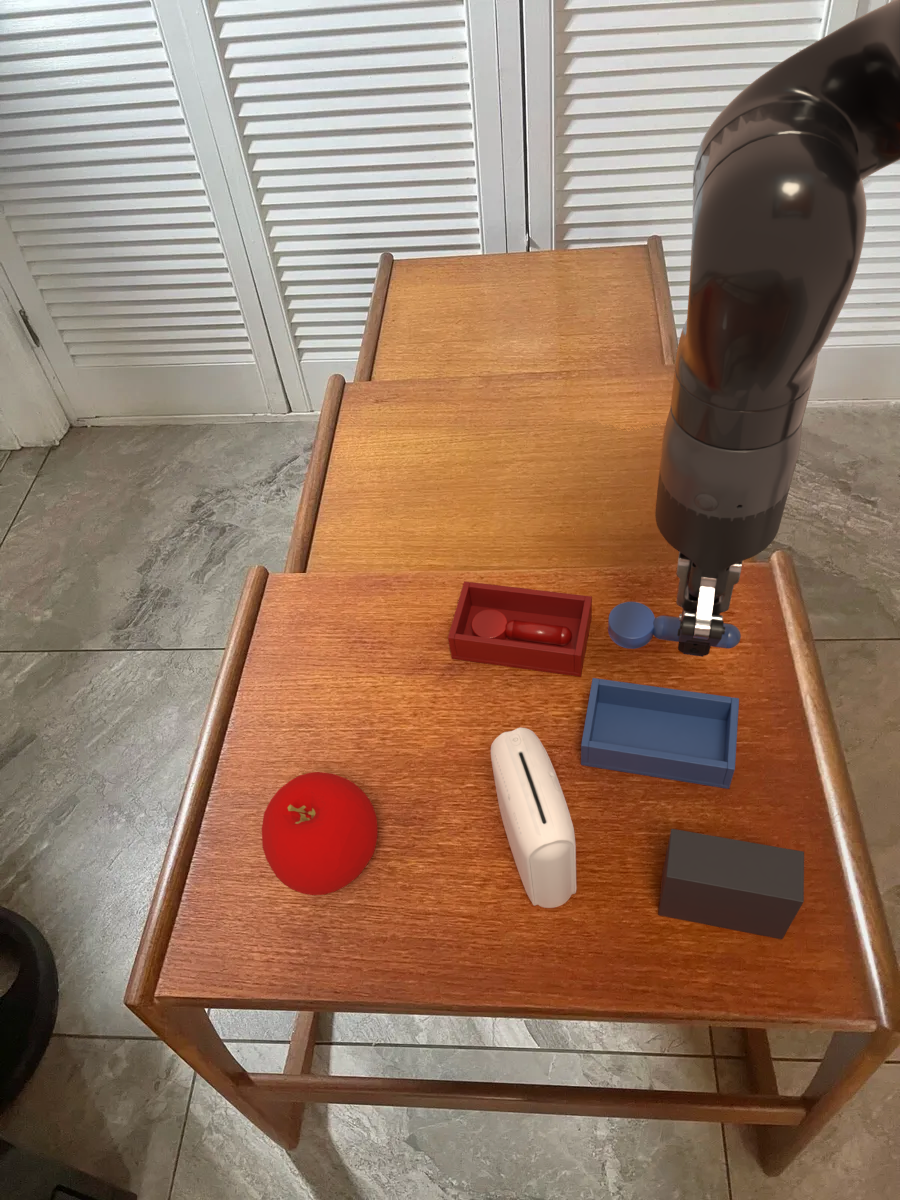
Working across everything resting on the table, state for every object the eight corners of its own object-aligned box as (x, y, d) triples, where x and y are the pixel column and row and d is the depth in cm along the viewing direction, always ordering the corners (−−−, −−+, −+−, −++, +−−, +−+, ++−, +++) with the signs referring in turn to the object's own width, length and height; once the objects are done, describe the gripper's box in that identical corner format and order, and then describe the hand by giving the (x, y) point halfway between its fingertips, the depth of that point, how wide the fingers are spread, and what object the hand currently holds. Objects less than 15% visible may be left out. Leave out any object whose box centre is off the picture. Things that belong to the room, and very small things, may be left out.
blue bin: (733, 719, 78) (739, 697, 75) (729, 789, 74) (735, 769, 71) (592, 698, 81) (592, 677, 78) (580, 765, 77) (581, 745, 74)
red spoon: (574, 628, 85) (574, 616, 84) (569, 657, 83) (569, 646, 82) (476, 615, 87) (475, 604, 86) (469, 644, 85) (467, 633, 84)
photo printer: (493, 798, 76) (480, 725, 66) (541, 784, 76) (536, 709, 67) (530, 916, 70) (522, 854, 60) (583, 900, 70) (584, 836, 60)
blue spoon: (740, 626, 67) (743, 611, 66) (737, 664, 65) (741, 650, 64) (611, 609, 69) (612, 595, 68) (604, 645, 67) (605, 631, 66)
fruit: (294, 796, 78) (262, 740, 70) (395, 807, 76) (374, 751, 69) (263, 901, 73) (225, 853, 65) (371, 916, 71) (346, 869, 63)
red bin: (591, 618, 86) (592, 596, 83) (581, 677, 82) (581, 655, 80) (467, 603, 89) (464, 580, 86) (451, 659, 85) (447, 637, 82)
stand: (783, 892, 69) (804, 851, 62) (782, 939, 67) (803, 902, 60) (662, 870, 71) (671, 828, 64) (658, 915, 69) (666, 876, 62)
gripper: (790, 563, 48) (742, 725, 62) (795, 395, 56) (752, 572, 70) (647, 547, 50) (631, 709, 64) (671, 386, 58) (653, 560, 71)
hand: (694, 636), depth 67 cm, fingers closed on blue spoon, 1 cm apart
